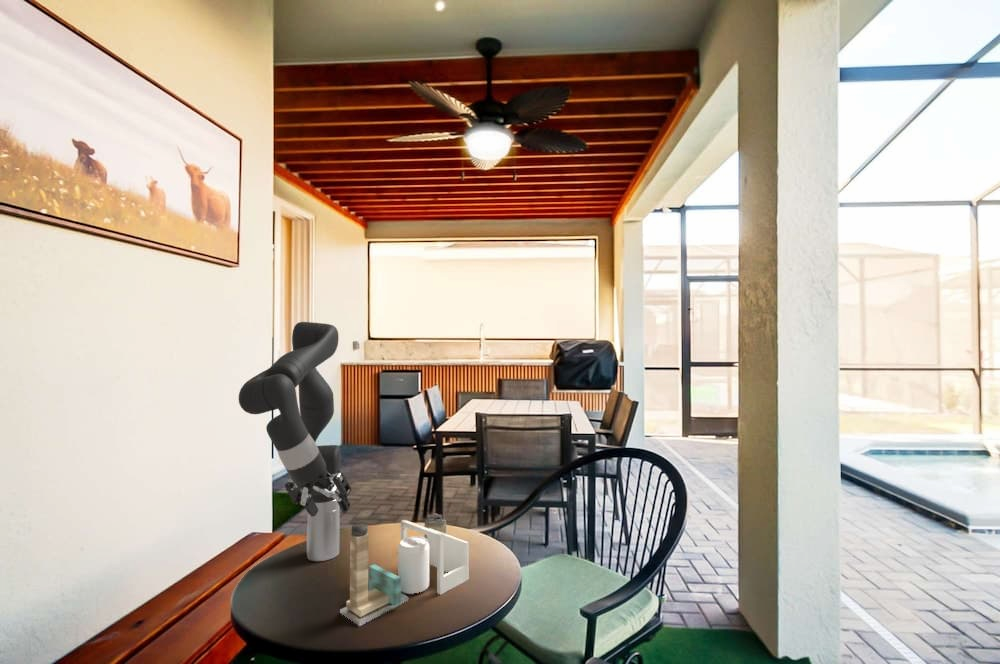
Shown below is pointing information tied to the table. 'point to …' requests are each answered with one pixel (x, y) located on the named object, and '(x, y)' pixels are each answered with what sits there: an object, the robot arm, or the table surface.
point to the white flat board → (371, 615)
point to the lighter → (435, 523)
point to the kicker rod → (380, 580)
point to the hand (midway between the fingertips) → (330, 512)
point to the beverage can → (413, 564)
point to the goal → (444, 556)
